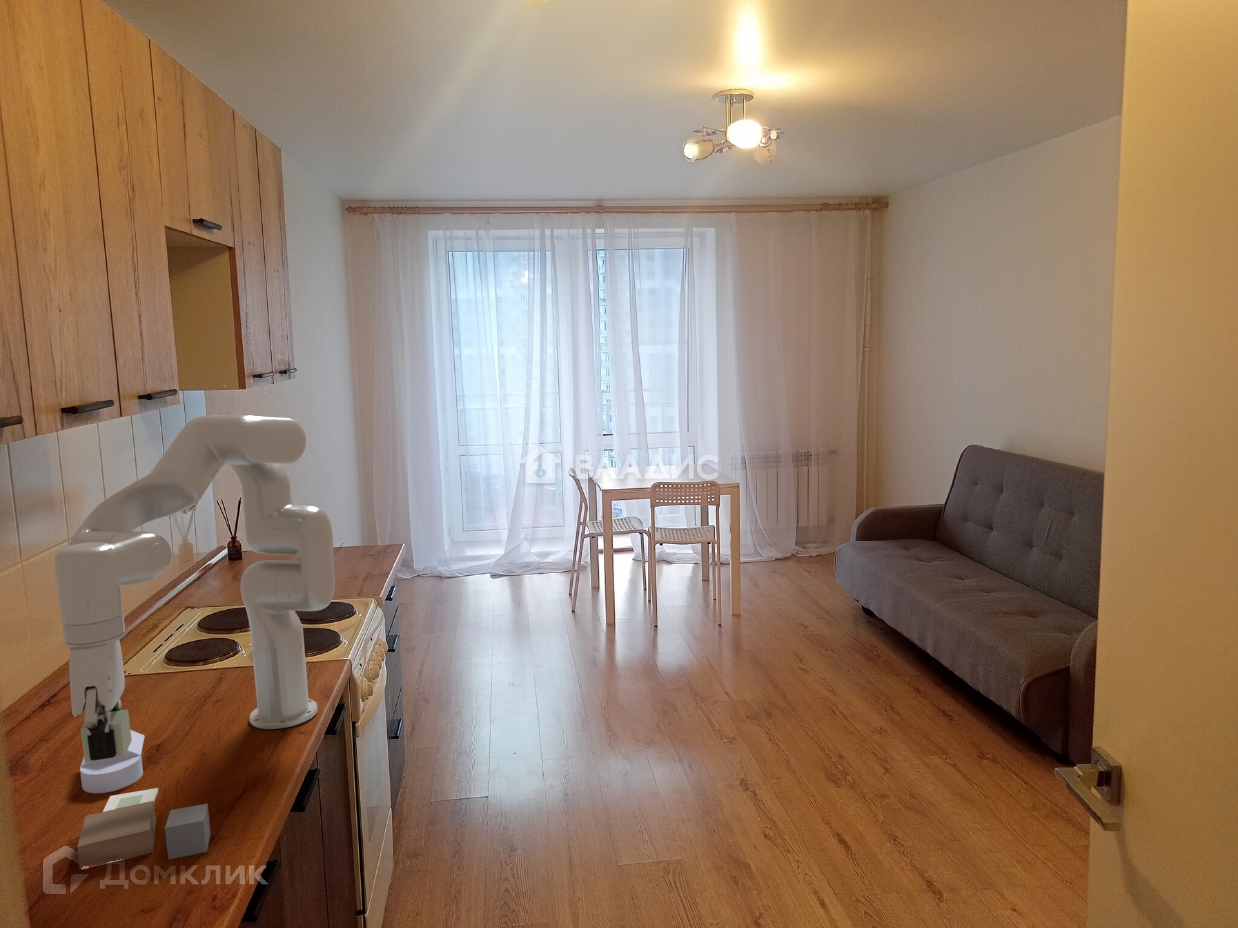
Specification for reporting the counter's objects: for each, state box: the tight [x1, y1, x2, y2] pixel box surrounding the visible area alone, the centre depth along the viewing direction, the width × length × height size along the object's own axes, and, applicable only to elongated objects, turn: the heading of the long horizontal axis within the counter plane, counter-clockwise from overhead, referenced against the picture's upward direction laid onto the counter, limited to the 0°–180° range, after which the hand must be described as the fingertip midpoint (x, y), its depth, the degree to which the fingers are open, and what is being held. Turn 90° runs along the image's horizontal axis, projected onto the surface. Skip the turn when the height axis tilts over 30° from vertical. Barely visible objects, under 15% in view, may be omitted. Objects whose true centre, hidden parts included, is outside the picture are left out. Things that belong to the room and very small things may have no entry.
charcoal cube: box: [164, 803, 212, 861], centre depth 126 cm, size 5×5×5 cm
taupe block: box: [76, 801, 157, 869], centre depth 127 cm, size 9×9×4 cm
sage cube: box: [80, 709, 132, 762], centre depth 125 cm, size 5×5×5 cm
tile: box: [102, 787, 159, 812], centre depth 138 cm, size 7×7×1 cm
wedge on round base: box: [79, 729, 145, 794], centre depth 148 cm, size 9×7×13 cm
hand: (108, 748), depth 125 cm, fingers closed on sage cube, 4 cm apart
